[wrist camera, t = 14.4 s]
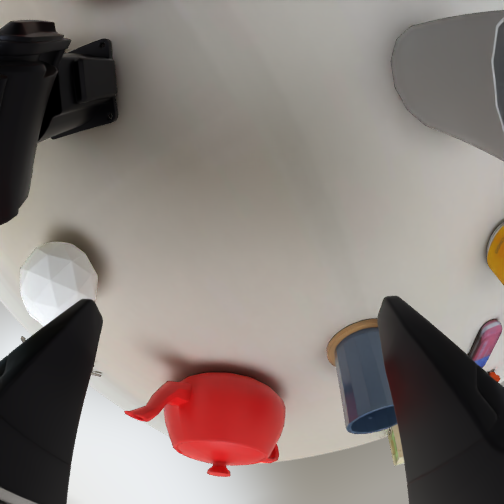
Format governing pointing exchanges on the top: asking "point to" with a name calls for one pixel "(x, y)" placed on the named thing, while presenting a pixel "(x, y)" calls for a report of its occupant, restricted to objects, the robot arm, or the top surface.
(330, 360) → the coaster
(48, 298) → the geometric ball
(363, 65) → the top surface
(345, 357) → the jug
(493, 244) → the beer can
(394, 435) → the toy sink
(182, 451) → the teapot
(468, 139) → the cup
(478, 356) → the eraser
